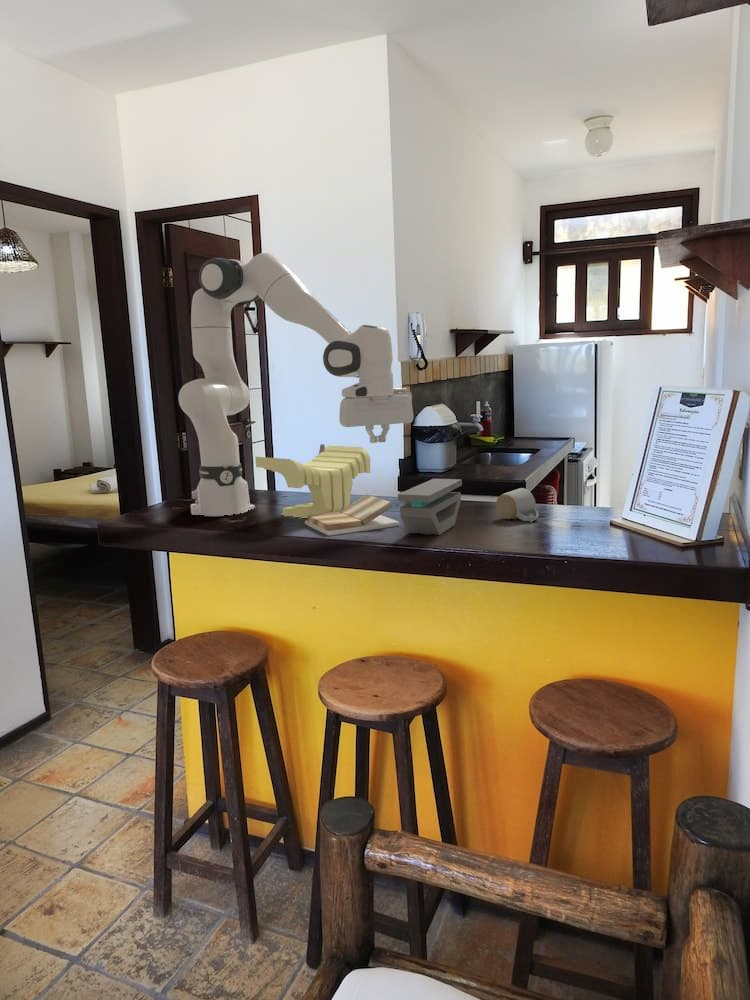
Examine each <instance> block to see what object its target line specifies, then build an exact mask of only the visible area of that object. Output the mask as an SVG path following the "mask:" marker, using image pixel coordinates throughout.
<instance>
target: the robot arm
mask: <svg viewBox="0 0 750 1000" xmlns="http://www.w3.org/2000/svg"><path fill="white" fill-rule="evenodd" d="M198 281H199V285H200V288H198V289H197V290H196V291H195V292H194V293H193V296H192V301H191V308H190V309H191V310H190V311H191V312H190V326H191V327H190V328H191V329H190V330H191V342H192V344H191V345H192V355H193V357H194V359H195V360H196V362H197V363H198V364H199V365H200V367H201V369H202V372H203V374H204V377H205V378H198V379H194V380H191V381H189V382H186V383H185V384H183V386H182V387H181V388H180V390H179V392H178V404H179V407H180V409H181V410H182V411H183V413H185V414H186V415H187V417H189V419H190V421H191V423H192V425H193V426H194V429H195V433H196V436H197V439H198V445H199V455H200V465H199V477H200V480H199V482H198V484H197V486H196V489H194V490H192V491H191V499H193V500H195V501H194V503H191V504H190V515H191V514H192V515H204V516H203V517H225V516H224V515H228V516H233V514H235V515H240V513H241V514H244V513H247V512H248V510H249V511H251V509H252V510H254V508H255V509H256V505H255V504H252V503H250V494H249V486H248V482H247V481H246V479H244V478H243V477H242V476H243V468H242V463H241V462H240V450H239V449H240V447H239V438H238V436H237V434H236V433H235V432H234V431H233V430H232V429H231V426H230V424H229V421H228V418H227V416H233V415H237V413H240V412H242V411H243V410H245V409H246V408H247V407H248V406H249V405H250V401H251V394H250V393H251V392H250V390H249V387H248V385H246V383H245V382H244V381H243V379H242V378H241V375H240V373H239V371H238V367H237V364H236V361H235V356H234V355H235V354H234V349H233V347H234V346H233V335H232V334H233V331H232V320H231V319H232V318H231V315H232V310H233V308H234V307H235V306H236V307H238V308H240V307H242V306H245V305H247V304H249V303H253V302H255V301H257V300H259V299H261V300H262V301H263V303H264V304H265V305H266V306H267V307H268V308H269V309H270V310H271V311H272V312H273V313H274V314H275V315H277V316H278V317H280V318H281V319H283V320H284V321H287V322H290V323H294V324H297V325H300V326H303V327H306V328H308V329H311V330H312V331H313V332H315V333H317V334H318V335H319V336H320V337H321V338H322V339H324V340H325V342H327V346H326V347H325V348H324V351H323V355H322V361H323V365H324V368H325V369H326V371H327V373H329V374H331V375H332V376H335V377H339V378H358V383H355V384H352V385H349V386H347V387H344V388H342V389H341V396H342V397H343V398H342V399H341V401H340V404H339V416H338V417H339V424H340V425H341V426H342V427H344V428H353V427H356V428H357V427H365V431H366V433H367V434H368V436H369V443H371V444H378V443H386V442H387V439H386V438H387V434H388V432H389V430H390V425H398V424H411V423H412V422H413V420H414V409H413V403H412V401H413V395H412V392H411V390H409V389H407V387H402V388H398V387H395V388H394V375H393V374H394V373H393V370H392V364H393V345H392V343H393V342H392V338H391V334H390V331H389V330H388V329H387V328H385V327H383V326H378V325H370V324H362V325H360V326H359V327H358V328H357V329H356V330H355V331H353V332H351V331H350V330H348V328H347V327H345V325H343V323H341V322H340V321H339V320H338V319H337V318H336V317H335V316H334V315H333V314H332V313H331V312H330V311H329V310H328V309H327V308H325V307H324V305H323V304H322V303H321V302H320V301H319V299H317V297H315V296H314V294H313V293H312V292H311V291H310V289H309V288H308V287H307V286H306V285H305V283H304V282H303V281H302V280H301V279H300V278H299V277H298V276H297V275H296V274H295V273H294V272H293V271H292V270H291V269H290V268H289V267H288V266H287V265H286V264H284V263H283V262H282V261H281V260H280V259H278V258H277V257H276V256H274V255H273V254H271V253H270V252H269V253H268V252H262V253H261V252H260V253H257V254H256V255H254V256H253V257H252V258H251V259H250V260H249V261H248V262H245V261H243V260H240V259H234V258H233V259H231V258H225V257H213V258H211V259H207V260H206V261H205V262H204V263H203V264H202V265H201V266H200V269H199V273H198ZM374 426H381V429H382V431H381V432H380V434H379V435H375V434H374V432H373V430H375V427H374ZM192 515H191V516H192Z"/></svg>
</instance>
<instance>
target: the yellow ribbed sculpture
mask: <svg viewBox="0 0 750 1000" xmlns="http://www.w3.org/2000/svg"><path fill="white" fill-rule="evenodd" d="M317 456H318V457H316V456H315V457H314V458H312V459H311V460H310V461H307V462H305V463H304V464H303V463H301V462H300V461H297V460H295V459H290V458H280V457H279V458H277V457H266V456H265V457H264V456H263V457H262V456H255V457H254V458H255V467H256V468H262V469H263V470H268V471H271V472H274V473H278V474H280V475H282V476H283V478H284V480H285V482H286V485H287V488H292V489H301V488H303V487H304V486H305V485H306V486H307V487H308V489H309V492H310V493H311V496H312V498H313V499H312V502H305V503H301V504H297V505H292V506H289V507H284V508H282V513H281V515H284V516H283V517H287V516H294V517H293V518H295V517H302V518H308V515H316V514H324V513H332V512H340V511H341V510H343V509H344V508H346V507H348V506H349V505H351V494H352V488H353V480H355V479H356V477H357V476H359V474H371V457H370V455H369V452H368V451H367V450H366V449H365V448H364V447H361V446H348V445H347V446H343V445H342V446H341V445H327V446H325V449H324V452H321V453H320V454H319V453H318V454H317ZM302 518H301V519H302Z"/></svg>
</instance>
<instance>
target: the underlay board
mask: <svg viewBox="0 0 750 1000" xmlns="http://www.w3.org/2000/svg"><path fill="white" fill-rule="evenodd" d="M305 524H306V525H305ZM400 524H401V523H400V521H398V520H396V519H393V518H391V517H387V516H385V515H383V514H381V515H379V516H378V517H376V518H375V519H373V520H372V521H370V522H369V523H367V524H366V525H363V524H361V526H360V527H352V528H345V529H338V530H331V531H328V530H326V529H324V528H322V527H319V526H317V525H315V524H313V523H311V522H309V521H308V519H305V520H304V525H305V526H307V525H308V526H307V527H310V528H312V529H314V530H316V531H318V532H319V533H322V534H324V535H326V536H336V535H342V534H350V533H359V532H362V531H363V532H364V531H371V530H378V529H385V528H393V527H394V528H395V527H400V526H401V525H400Z"/></svg>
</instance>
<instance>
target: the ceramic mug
mask: <svg viewBox="0 0 750 1000" xmlns="http://www.w3.org/2000/svg"><path fill="white" fill-rule="evenodd" d="M495 508H496V511H497V514H498V515H499V517H500V518H502V519H503V518H504V520H505V519H514V520H517V518H518V519H520V520H521V521H523V522H526V521H532V520H536V519H537V520H538V518H539V513H538V510H536V509H535V508H536V499H535V497H534V495H533V494H532V492H531V491H530V490H528V489H527V488H524V487H520V488H517V489H514V490H511V491H507V492H505V493H502V494H500V496H498V498H497V499H496V503H495ZM529 515H530V516H529ZM532 515H533V516H532ZM537 520H536V521H537Z"/></svg>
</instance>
